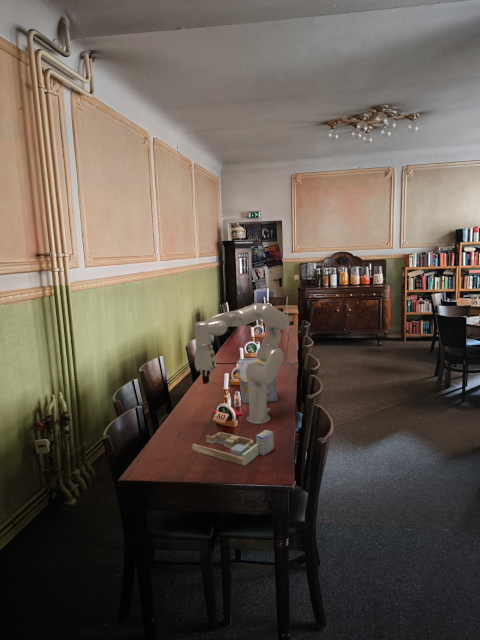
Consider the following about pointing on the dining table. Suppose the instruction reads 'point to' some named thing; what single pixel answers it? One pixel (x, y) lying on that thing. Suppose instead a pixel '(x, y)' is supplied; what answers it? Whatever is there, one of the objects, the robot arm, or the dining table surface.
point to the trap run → (229, 443)
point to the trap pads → (221, 441)
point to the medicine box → (265, 442)
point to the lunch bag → (270, 388)
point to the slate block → (239, 449)
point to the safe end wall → (250, 454)
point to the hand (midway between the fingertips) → (206, 382)
